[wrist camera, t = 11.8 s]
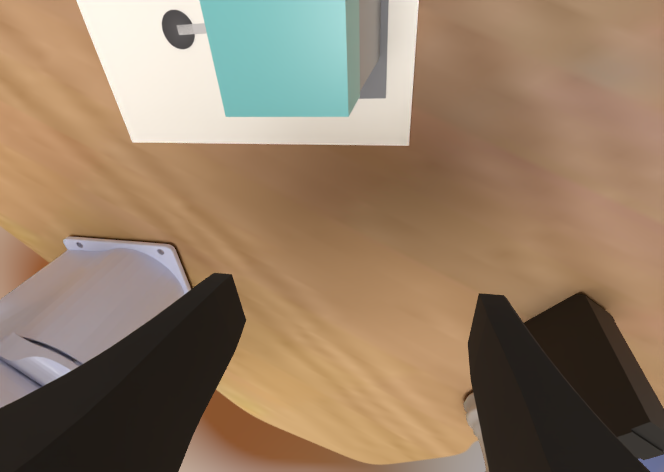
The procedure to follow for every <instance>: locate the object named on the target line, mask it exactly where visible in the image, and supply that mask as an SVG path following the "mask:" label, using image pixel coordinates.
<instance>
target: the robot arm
mask: <svg viewBox="0 0 664 472" xmlns="http://www.w3.org/2000/svg"><path fill="white" fill-rule="evenodd" d="M63 243H64V245H65V246H66V248H67V251H66V252H64V253H63V254H62V255H60V256H59V257H57V258H56V259H55V260H53V261H52V262H51V263H49V264H48V265H47V266H45V267H44V268H42V269H41V270H40V271H38V272H37V273H36V274H34V275H33V276H32V277H30V278H29V279H27V280H26V281H25V282H23V283H22V284H21V285H20V286H18V287H17V288H15V289H14V290H12V291H11V292H10V293H8V294H7V295H6V296H4V297H3V298H2V299H1V300H0V472H178V471H179V468H180V466H181V464H182V461H183V459H184V456H185V453H186V451H187V449H188V446H189V443H190V441H191V439H192V436H193V434H194V432H195V429H196V427H197V425H198V423H199V421H200V419H201V417H202V415H203V413H204V411H205V409H206V407H207V405H208V403H209V401H210V399H211V397H212V395H213V393H214V392H215V390H216V388H217V386H218V384H219V382H220V380H221V378H222V376H223V374H224V372H225V370H226V368H227V366H228V364H229V362H230V360H231V358H232V356H233V354H234V352H235V350H236V347H237V345H238V342H239V339H240V337H241V334H242V331H243V328H244V325H245V322H246V318H245V315H244V312H243V309H242V305H241V302H240V299H239V296H238V293H237V290H236V286H235V283H234V280H233V277H232V274H219V273H213V274H212V275H211V276H209V277H208V278H206V279H205V280H203V281H202V282H201V283H199V284H198V285H197V286H195V287H194V288H192V289H191V288H190V285H189V282H188V280H187V277H186V275H185V272H184V270H183V267H182V265H181V262H180V260H179V257H178V255H177V252H176V250H175V248H174V247H173V246H172V245H170V244H161V243H149V242H136V241H123V240H110V239H97V238H84V237H71V236H68V237H66V238H65V239H64V240H63ZM468 352H469V365H470V375H471V383H472V388H473V393H474V398H475V403H476V409H477V413H478V418H479V423H480V428H481V433H482V438H483V443H484V448H485V453H486V458H487V463H488V468H489V472H650V471H649V470H648V469H647V468H646V467H645V466H644V465H643V464H642V463H641V462H640V461H639V460H638V459H637V458H636V457H635V456H634V455H633V454H632V453H631V452H630V451H629V450H628V449H627V447H626V446H625V445H624V444H623V443H622V442H621V441H620V440H619V439H618V438H617V437H616V436H615V435H614V434H613V433H612V432H611V431H610V429H609V428H608V427H607V426H606V425H605V424H604V423H603V422H602V421H601V420H600V418H599V417H598V416H597V415H596V414H595V413H594V412H593V411H592V409H591V408H590V407H589V406H588V405H587V404H586V402H585V401H584V400H583V399H582V398H581V397H580V395H579V394H578V393H577V392H576V391H575V390H574V388H573V387H572V386H571V385H570V383H569V382H568V381H567V380H566V379H565V377H564V376H563V375H562V374H561V372H560V371H559V370H558V368H557V367H556V366H555V365H554V363H553V362H552V361H551V360H550V358H549V357H548V356H547V354H546V353H545V352H544V351H543V349H542V348H541V347H540V345H539V344H538V342H537V341H536V340H535V338H534V337H533V336H532V334H531V333H530V331H529V330H528V329H527V327H526V326H525V324H524V323H523V322H522V320H521V319H520V317H519V316H518V314H517V313H516V311H515V310H514V309H513V307H512V306H511V304H510V303H509V301H508V300H507V298H506V297H505V296H504V295H492V294H479V296H478V300H477V305H476V309H475V314H474V318H473V323H472V327H471V332H470V336H469V341H468Z"/></svg>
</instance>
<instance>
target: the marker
mask: <svg viewBox="0 0 664 472" xmlns="http://www.w3.org/2000/svg"><path fill="white" fill-rule="evenodd" d="M199 1H200V5H201V10H202V14H203V18H204V23H205V27H206V32H207V36H208V41H209V45H210V49H211V54H212V58H213V63H214V67H215V71H216V76H217V80H218V85H219V89H220V94H221V98H222V102H223V107H224V111H225V116H226V117H349V115H350V113H351V112H352V110H353V108H354V106H355V104H356V103H357V101H358V99H359V97H360V91H361V89H362V87H363V85H364V84H365V82H366V80H367V79H368V77H369V75H370V73H371V72H372V70H373V68H374V67H375V65H376V63H377V61H378V60H379V58H380V32H381V0H199Z"/></svg>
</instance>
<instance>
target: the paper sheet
mask: <svg viewBox="0 0 664 472" xmlns="http://www.w3.org/2000/svg"><path fill="white" fill-rule="evenodd" d="M76 1H77V3H78V6H79V8H80V11H81V13H82V16H83V18H84V21H85V23H86V26H87V29H88V31H89V34H90V36H91V39H92V41H93V44H94V46H95V49H96V51H97V54H98V56H99V59H100V61H101V64H102V66H103V69H104V71H105V74H106V77H107V79H108V82H109V84H110V87H111V89H112V92H113V94H114V97H115V99H116V102H117V104H118V107H119V109H120V112H121V114H122V117H123V120H124V122H125V125H126V127H127V130H128V132H129V135H130V137H131V140H132V142H144V143H227V144H309V145H392V146H409V136H410V122H411V107H412V92H413V78H414V63H415V49H416V34H417V19H418V5H419V0H381V32H380V58H379V60H378V61H377V63H376V65H375V67H374V68H373V70H372V72H371V73H370V75H369V77H368V79H367V80H366V82H365V84H364V85H363V87H362V89H361V91H360V97H359V99H358V101H357V103H356V104H355V106H354V108H353V110H352V112H351V113H350V115H349V117H226V116H225V111H224V107H223V102H222V98H221V94H220V89H219V85H218V80H217V76H216V71H215V67H214V63H213V58H212V54H211V49H210V45H209V41H208V36H207V32H206V27H205V23H204V18H203V14H202V10H201V5H200V1H199V0H76Z"/></svg>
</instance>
